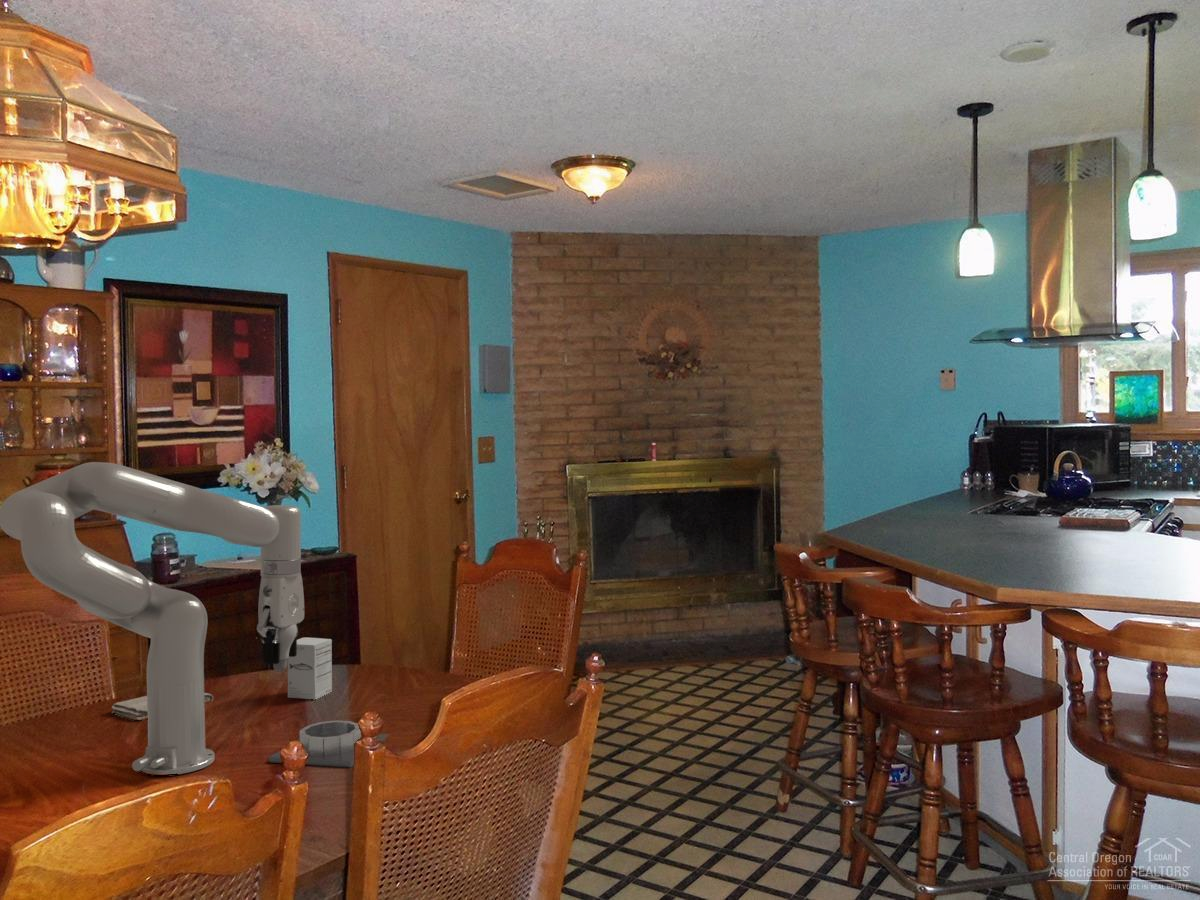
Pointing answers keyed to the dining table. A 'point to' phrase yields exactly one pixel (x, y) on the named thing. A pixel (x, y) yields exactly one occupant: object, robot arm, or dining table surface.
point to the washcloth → (139, 707)
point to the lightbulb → (284, 645)
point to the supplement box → (310, 669)
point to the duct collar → (329, 743)
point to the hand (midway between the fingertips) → (280, 658)
